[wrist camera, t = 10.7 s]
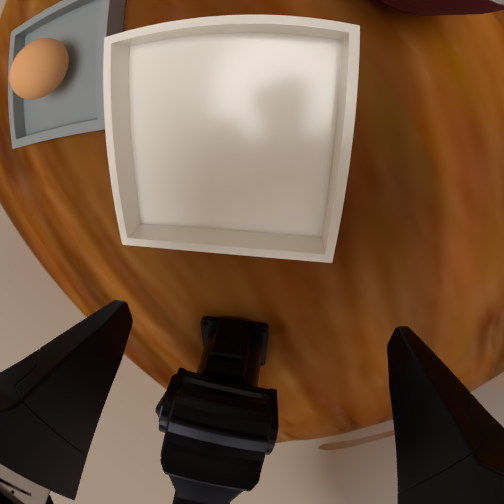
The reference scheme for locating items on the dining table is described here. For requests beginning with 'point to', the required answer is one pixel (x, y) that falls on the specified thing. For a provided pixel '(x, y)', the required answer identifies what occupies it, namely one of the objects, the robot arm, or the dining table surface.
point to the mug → (446, 6)
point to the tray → (78, 73)
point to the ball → (39, 68)
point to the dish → (232, 133)
